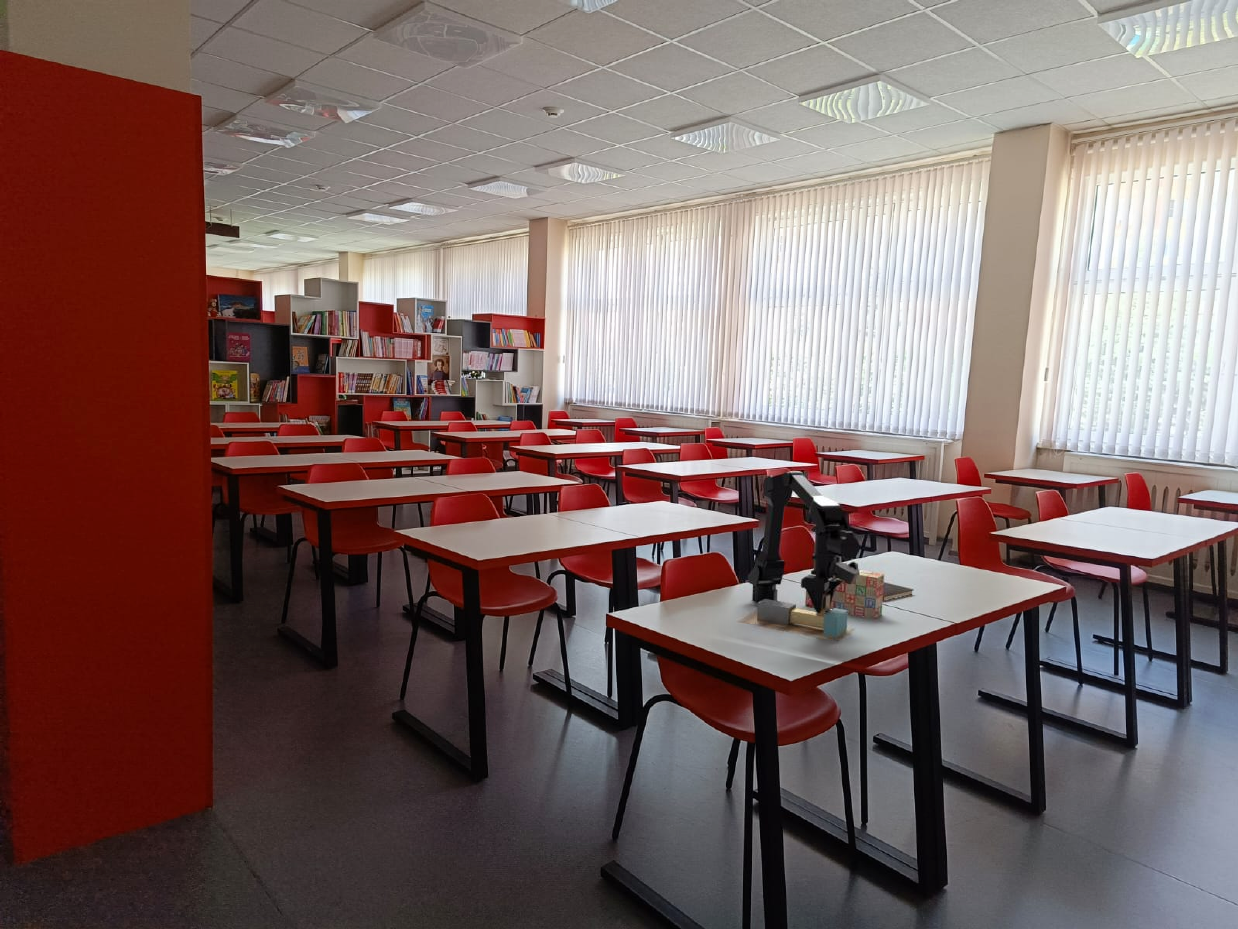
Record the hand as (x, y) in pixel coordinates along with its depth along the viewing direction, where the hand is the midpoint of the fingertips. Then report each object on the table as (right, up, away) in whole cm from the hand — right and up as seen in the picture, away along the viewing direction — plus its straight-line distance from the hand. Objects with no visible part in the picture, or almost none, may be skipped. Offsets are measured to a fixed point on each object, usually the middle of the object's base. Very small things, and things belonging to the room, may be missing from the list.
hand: (823, 609), depth 199 cm
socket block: (+3, -6, -1) cm, 7 cm away
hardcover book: (+28, -4, +49) cm, 57 cm away
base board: (-6, -6, +5) cm, 10 cm away
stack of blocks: (+12, -5, +25) cm, 28 cm away
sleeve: (-11, -5, +8) cm, 14 cm away
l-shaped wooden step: (-4, -4, +3) cm, 7 cm away
